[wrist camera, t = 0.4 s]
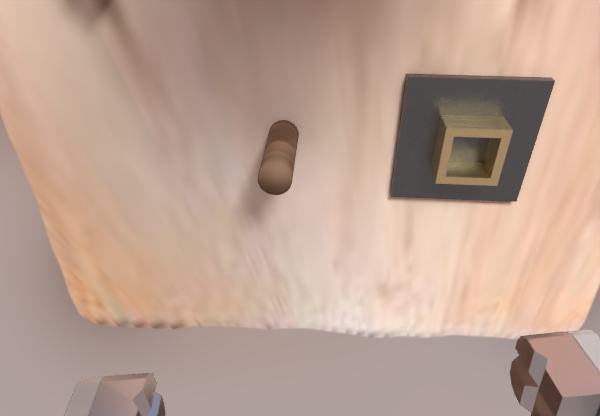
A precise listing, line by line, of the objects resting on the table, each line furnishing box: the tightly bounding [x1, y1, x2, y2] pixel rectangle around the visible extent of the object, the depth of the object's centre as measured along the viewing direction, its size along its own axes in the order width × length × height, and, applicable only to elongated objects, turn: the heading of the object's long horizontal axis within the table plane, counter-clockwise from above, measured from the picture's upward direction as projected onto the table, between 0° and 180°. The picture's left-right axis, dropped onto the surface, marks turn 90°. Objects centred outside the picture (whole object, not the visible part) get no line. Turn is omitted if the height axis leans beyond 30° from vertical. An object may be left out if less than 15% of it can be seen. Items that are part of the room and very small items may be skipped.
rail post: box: [258, 120, 299, 195], centre depth 55 cm, size 4×4×11 cm
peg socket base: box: [390, 74, 555, 202], centre depth 57 cm, size 16×16×4 cm
